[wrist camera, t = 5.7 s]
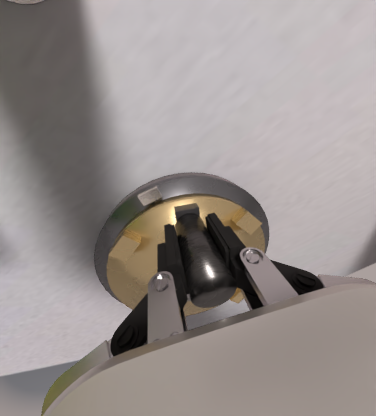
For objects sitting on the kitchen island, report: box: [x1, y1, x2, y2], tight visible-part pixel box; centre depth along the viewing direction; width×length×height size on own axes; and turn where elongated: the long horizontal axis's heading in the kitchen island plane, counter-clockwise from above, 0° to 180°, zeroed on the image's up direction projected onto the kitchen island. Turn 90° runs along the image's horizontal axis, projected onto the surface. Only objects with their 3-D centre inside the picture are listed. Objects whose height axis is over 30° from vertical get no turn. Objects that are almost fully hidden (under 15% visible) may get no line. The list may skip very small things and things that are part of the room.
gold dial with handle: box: [107, 193, 265, 316], centre depth 14 cm, size 18×18×8 cm
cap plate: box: [94, 172, 269, 303], centre depth 19 cm, size 21×21×3 cm
